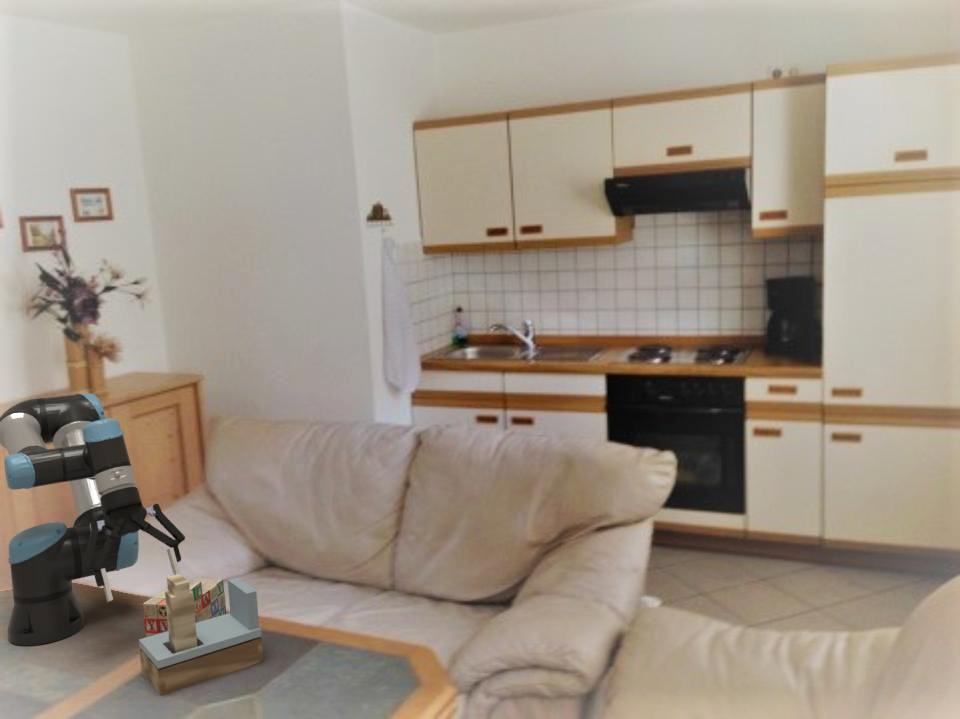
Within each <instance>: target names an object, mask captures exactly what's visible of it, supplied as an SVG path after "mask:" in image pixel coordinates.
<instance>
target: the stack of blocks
mask: <svg viewBox="0 0 960 719" xmlns="http://www.w3.org/2000/svg"><path fill="white" fill-rule="evenodd" d="M188 581H189V587H190V590H191V591H192V592H193V599H194V611H195V622H196V623H197V622H201V621H204V620H208V619H211V618H215V617H218V616H221V615H225V614H227V607H226V594H225V593H226V592H225V587H224V586H225V585H224V579H223V578H222V579H221V578H197V579H196V580H194V581H191V580H188ZM166 591H169V590H168V586H166V587H165V588H164V589H162V591H160V592H157V594H156V595H154V596H152V597H151V598H149V599H148V600H146V601H145V602H144V603H143V604H142V605H143V606H142V607H143V616H144V618H143V621H144V630H145V631H144V632H145V638H146V637H149V636H153V635H156V634H160V633H163V632H167V631H168V622H167V610H166V599H165V592H166Z"/></svg>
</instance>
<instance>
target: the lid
mask: <svg viewBox="0 0 960 719" xmlns="http://www.w3.org/2000/svg"><path fill="white" fill-rule="evenodd" d="M227 589H228V599H229V600H228V602H229V613H228V612H227V613H226V614H225V615H221V616H218V617H215V618H211V619H208V620H204V621H201V622H197V623H196V634H197V645H198V646H197V647H194V648H190V649H187V650H184V651H181V652H177V653H174V654H172V653H171V652H170V651H169V650H168V649H170V644H169V633H168V631H167V632H163V633H160V634H156V635H153V636H149V637H146V636H145V637H143V638H139V639H138V645H139V649H142V650H143V652H144V653H145V654H146V655H147V656H148V657H149V659H150V660H151V661H152V662H153V663H154V664H155V665H156V667H157V668H158V669H159V668H162V667H166V666H169V665H172V664H175V663H178V662H181V661H185V660H188V659H191V658H194V657H197V656H200V655H204V654H207V653H210V652H213V651H216V650H219V649H223V648H226V647H229V646H232V645H235V644H238V643H242V642H245V641H248V640H251V639H254V638H257V637H261V638H262V636H263V635H262V628H261V627H260V624H259V622H260V621H259V620H260V619H259V611H258V610H259V609H258V608H259V606H258V595H257V594H258V593H257V590H256V589H255V588H253V587H252V586H250V585H248V584H247V583H246V582H244V581H243V580H242V579H240V578H238V577H233V578H229V579H227Z"/></svg>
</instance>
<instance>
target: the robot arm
mask: <svg viewBox="0 0 960 719" xmlns="http://www.w3.org/2000/svg"><path fill="white" fill-rule="evenodd" d="M46 444H52V445H53V447H54V448H50V449H49V448H48V447H47V445H46ZM0 446H2V447H3V448H4V449H6V451H7V454H8V455H7V456H5V458H4V472H5V478H6V485H7V488H9V489H10V490H23V489H26V490H29V489H31V488H37V487H43V486H47V485H48V486H50V485H54V484H56V485H57V484H60V483H67V482H69V485H70V490H71V494H72V498H73V501H74V502H73V503H74V506H75V509H76V510H75V511H76V513H77V517H76V518H75V519H74V521H73V524H72V526H71V527H68V526H67V525H66V523H64V522H62V521H55V522H54V521H53V522H47V523H42V524H39V525H35V526H32V527H29V528H27V529H24V530H22V531H20V532H19V533H17V534H16V535H14V536H13V537H12V538H11V540H10V541H9V543H8V564H10V574H11V585H12V596H13V607H12V611H11V615H10V618H9V622H8V623H9V624H8V627H7V635H8V636H7V637H8V641H9V643H10V644H13V645H18V646H39V645H44V644H45V645H46V644H48V643H54V642H57V641H60V640H63V639H66V638H68V637H70V636H72V635H74V634H76V633H77V632H79V631H80V630H81V629H82V628H84V626H85V615H84V611H83V609H82V608H81V606H80V603H79V602H78V600H77V597H76V596H75V594H74V591H73V590H74V589H73V582H72V581H74V580H78V579H84V578H86V577H87V578H88V577H92V576H93V577H94V579H95V582H96V583H95V584H96V586H97V587H98V588H100V587H103V590H104V595H105V598H106V603H109V602H112V601H113V600H114V597H113V594H112V590H111V587H110V586H111V585H110V582H109V578H108V574H107V573H110V572H115V571H116V572H119V571H121V570H124V569H127V568H130V567H132V566H134V565H135V564H136V563H137V561H138V558H139V552H140V551H139V547H140V546H139V545H140V544H139V540H140V538H139V531H142V532H144V533H147V534H148V535H149V536H151V537H153V538H155V539H156V540H157V541H159V542H161V543H162V544H164V545H166V546H167V547H169V548H168V549H166V553H167V556H168V560H169V562H170V566H171V570H172V573H173V575H177V574H180V575H181V571H180V567H179V564H178V563H180V562H181V561H182V556H181V553H180V549H179V546H180V544H181V543H182V542H184V541H185V540H186V536H185V535H184V533H183V532H182V531H180V529H178V528H177V526H176V525H175V524H174V523H173V522H172V521H171V520H170V519H169V518H168V517H167V515H165V514H164V513H163V511H162V509H161V506H160V505H159V503H154V504H153V505H152V506H149V507H147V508H145V507H144V506H143V503H142V500H141V496H140V492H139V489H138V487H137V486H136V484H137V481H136V478H135V475H134V471H133V467H132V464H131V460H130V457H129V454H128V450H127V445H126V441H125V438H124V431H122V427H121V425H120V422H119V421H118V420H117V419H116V418H111V417H110V418H106V415H105V410H104V407H103V404H102V401H101V400H100V398H99V397H98V396H97V395H96V394H94V393H89V392H88V393H79V392H78V393H74V394H68V395H58V396H50V397H40V398H39V397H38V398H32V399H31V398H30V399H26V400H23V401H19V403H15V404H14V405H12V406H11V407H9V408H8V409H7V410H5V411H4V412H3V414H2V415H0ZM147 515H149V516H150V517H154V518H155V519H156V520H157V522H158V523H159V524H160V525H161V526H162V527H163V528H164V530H166V531H167V532H168V533H169V534H170V535H167V534H166V533H164V532H163V531H161V530H160V529H158V528H156V526H153V525H152V524H151V523H149V522H148V521H146V520H145V519H146V517H147ZM171 536H172V537H171ZM181 576H182V575H181Z"/></svg>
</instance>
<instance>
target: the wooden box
mask: <svg viewBox="0 0 960 719" xmlns="http://www.w3.org/2000/svg"><path fill="white" fill-rule="evenodd" d="M197 646H198V645H197ZM168 650H169V651H170V649H168ZM139 657H140V667H141V673H142V674H143V676H144V677H145V678H146V680H147V681H148V682H149V683H150V685H152V687H153V688H154V690H156V692H157V693H158V694H159V696H161V697H162V696H164V695H167V694H171V693H173V692H176V691H179V690H183V689H185V688H189V687H191V686H194V685H197V684H201V683H203V682H207V681H209V680H213V679H215V678H218V677H221V676H224V675H227V674H230V673H232V672H233V673H234V672H236V671H239V670H242V669H245V668H247V667H251V666H253V665H257V664H260V663H262V662H263V663H264V651H263V638H262V636H261V637H257V638H254V639H251V640H248V641H245V642H242V643H238V644H235V645H232V646H229V647H226V648H223V649H219V650H216V651H213V652H210V653H207V654H204V655H200V656H197V657H194V658H191V659H188V660H185V661H181V662H178V663H175V664H172V665H169V666H166V667H162V668H159V669H158V668H157V667H156V665H155V664H154V663H153V662H152V661H151V660H150V659H149V657H148V656H147V655H146V654H145V653H144V652H143V650H142V649H141V648H139Z"/></svg>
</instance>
